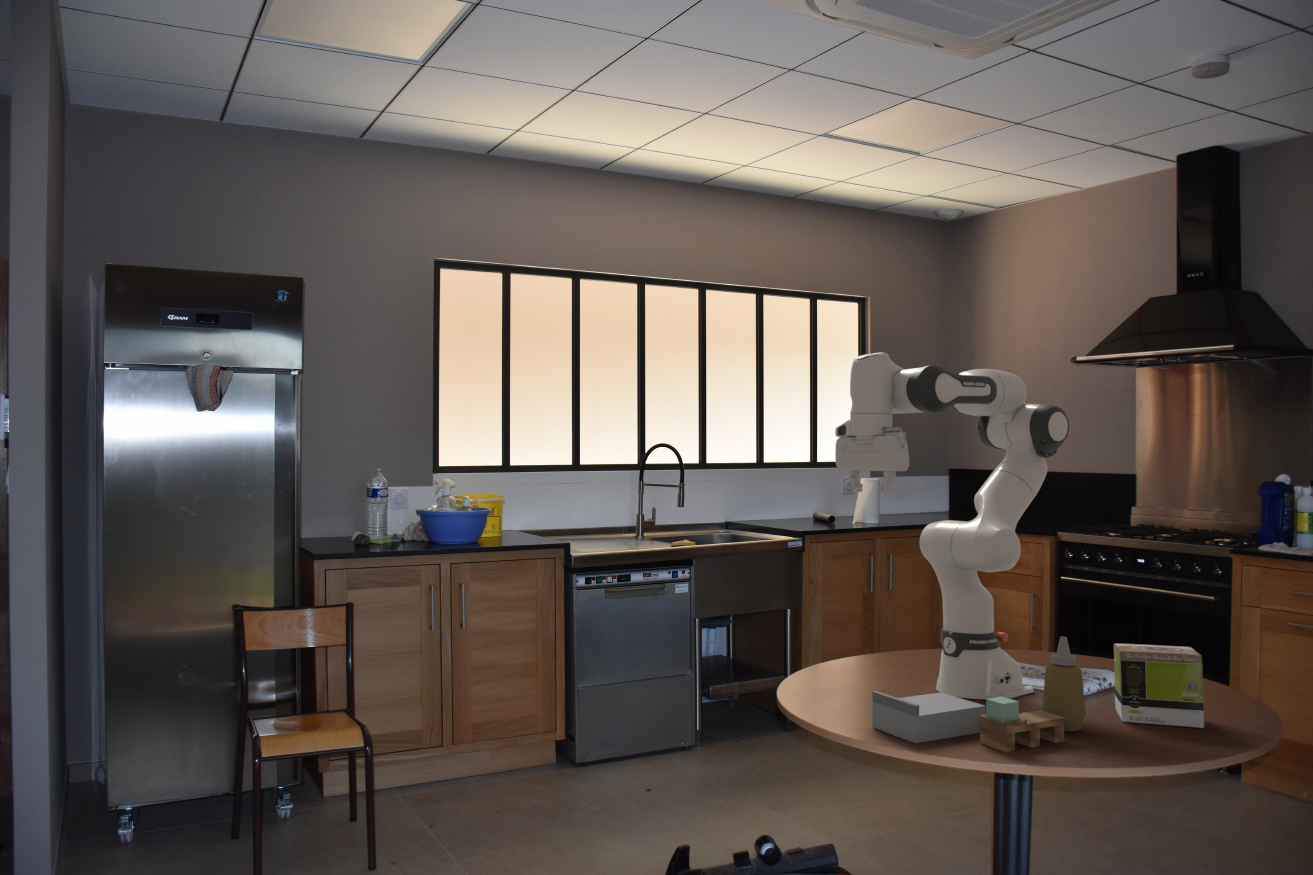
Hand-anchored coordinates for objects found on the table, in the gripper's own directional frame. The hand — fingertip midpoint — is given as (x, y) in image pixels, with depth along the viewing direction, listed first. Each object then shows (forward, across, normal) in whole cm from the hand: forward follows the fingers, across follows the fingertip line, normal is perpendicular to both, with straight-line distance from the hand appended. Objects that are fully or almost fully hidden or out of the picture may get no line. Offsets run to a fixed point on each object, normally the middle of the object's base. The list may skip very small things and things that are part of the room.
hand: (871, 492), depth 200 cm
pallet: (+46, -31, -10) cm, 56 cm away
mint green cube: (+42, -31, -5) cm, 52 cm away
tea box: (+47, -32, -48) cm, 74 cm away
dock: (+46, -17, 0) cm, 49 cm away
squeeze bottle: (+46, -28, -25) cm, 59 cm away
